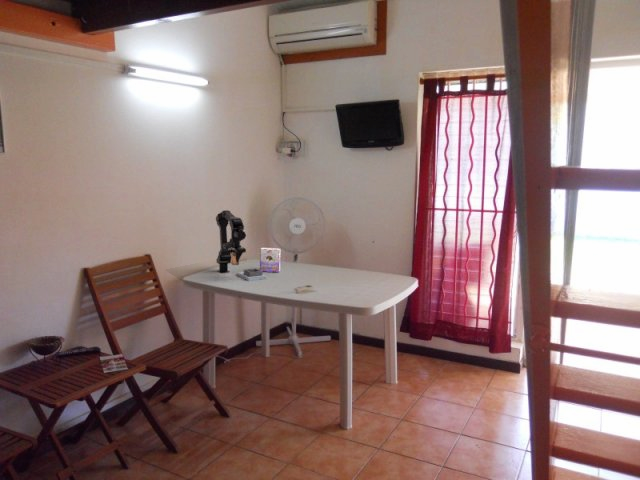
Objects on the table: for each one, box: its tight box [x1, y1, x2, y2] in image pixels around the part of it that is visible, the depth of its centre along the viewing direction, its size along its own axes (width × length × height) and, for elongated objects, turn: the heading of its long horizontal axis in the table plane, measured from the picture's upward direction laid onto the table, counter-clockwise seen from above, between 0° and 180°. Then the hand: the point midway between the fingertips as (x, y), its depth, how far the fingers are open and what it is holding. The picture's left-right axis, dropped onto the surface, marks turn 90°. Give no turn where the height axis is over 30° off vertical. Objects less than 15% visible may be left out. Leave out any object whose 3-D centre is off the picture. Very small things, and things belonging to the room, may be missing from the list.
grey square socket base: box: [236, 268, 267, 282], centre depth 333 cm, size 17×13×5 cm
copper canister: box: [230, 252, 240, 266], centre depth 324 cm, size 5×5×8 cm
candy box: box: [259, 247, 282, 273], centre depth 351 cm, size 14×6×16 cm, turn 84°
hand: (235, 261), depth 324 cm, fingers closed on copper canister, 5 cm apart
